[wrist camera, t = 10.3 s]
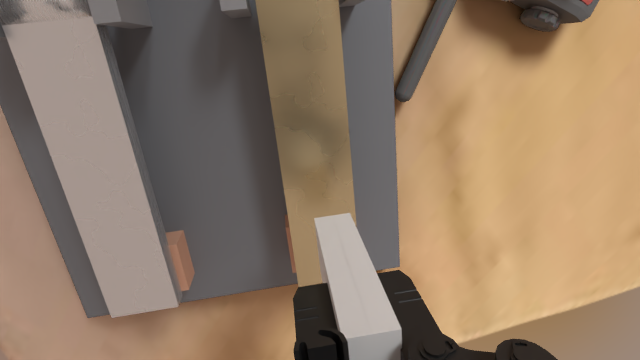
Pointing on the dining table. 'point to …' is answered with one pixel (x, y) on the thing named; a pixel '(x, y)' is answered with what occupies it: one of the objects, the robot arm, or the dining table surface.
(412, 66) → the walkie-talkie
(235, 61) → the mount plate
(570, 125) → the dining table surface
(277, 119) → the brass strap
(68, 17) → the steel strap
